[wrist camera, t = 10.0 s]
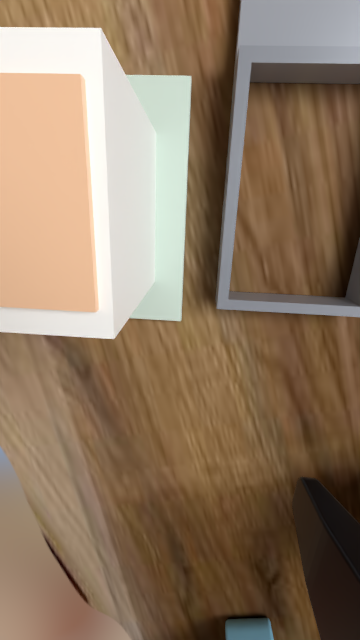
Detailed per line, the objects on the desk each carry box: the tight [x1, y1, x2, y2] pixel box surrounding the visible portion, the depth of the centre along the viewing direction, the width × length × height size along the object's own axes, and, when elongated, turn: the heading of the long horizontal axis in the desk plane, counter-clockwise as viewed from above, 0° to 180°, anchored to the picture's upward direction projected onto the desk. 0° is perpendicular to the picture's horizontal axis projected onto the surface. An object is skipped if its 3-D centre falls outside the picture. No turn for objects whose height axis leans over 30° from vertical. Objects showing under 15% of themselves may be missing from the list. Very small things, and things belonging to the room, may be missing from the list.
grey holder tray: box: [215, 0, 360, 317], centre depth 13 cm, size 9×24×2 cm, turn 178°
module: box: [0, 27, 156, 339], centre depth 12 cm, size 4×8×9 cm, turn 178°
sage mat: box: [126, 75, 191, 321], centre depth 17 cm, size 8×13×1 cm, turn 178°
